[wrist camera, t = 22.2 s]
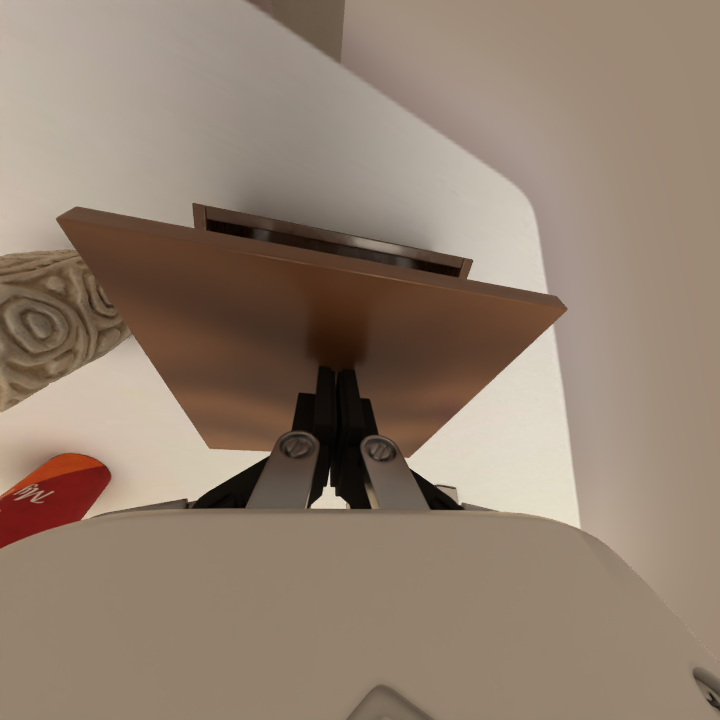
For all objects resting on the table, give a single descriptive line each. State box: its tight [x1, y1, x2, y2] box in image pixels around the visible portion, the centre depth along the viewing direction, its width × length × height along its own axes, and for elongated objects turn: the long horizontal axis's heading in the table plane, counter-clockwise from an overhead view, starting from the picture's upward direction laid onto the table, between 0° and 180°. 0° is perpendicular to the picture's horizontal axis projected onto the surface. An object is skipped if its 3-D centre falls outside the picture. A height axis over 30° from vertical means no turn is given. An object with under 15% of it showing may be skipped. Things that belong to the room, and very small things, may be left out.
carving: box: [0, 250, 132, 412], centre depth 14 cm, size 6×8×12 cm
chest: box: [192, 203, 473, 279], centre depth 20 cm, size 15×15×7 cm
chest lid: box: [56, 207, 567, 458], centre depth 14 cm, size 16×15×1 cm
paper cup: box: [0, 454, 111, 549], centre depth 21 cm, size 8×8×14 cm
